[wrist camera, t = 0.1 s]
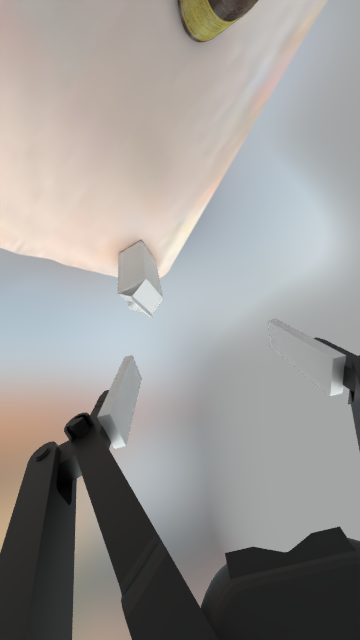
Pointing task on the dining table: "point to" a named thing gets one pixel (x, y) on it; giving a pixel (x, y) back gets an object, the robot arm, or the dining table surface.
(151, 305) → the milk carton
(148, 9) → the dining table surface
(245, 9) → the sauce bottle
